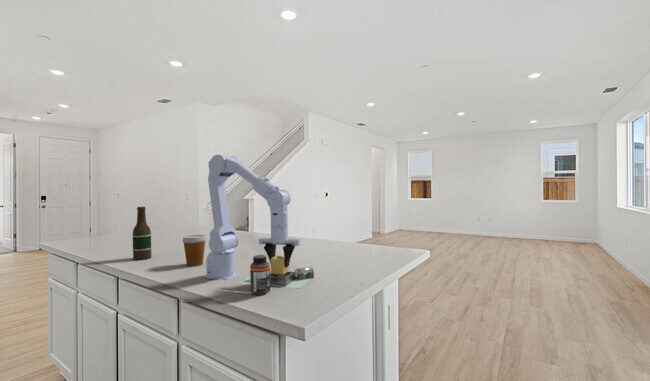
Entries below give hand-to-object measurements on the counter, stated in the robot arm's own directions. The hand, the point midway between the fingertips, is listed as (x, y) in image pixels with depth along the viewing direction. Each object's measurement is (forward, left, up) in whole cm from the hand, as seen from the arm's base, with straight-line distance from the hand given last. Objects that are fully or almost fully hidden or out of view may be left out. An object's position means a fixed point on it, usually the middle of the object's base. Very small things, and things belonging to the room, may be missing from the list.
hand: (279, 266), depth 111 cm
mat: (-2, +3, -6) cm, 7 cm away
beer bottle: (-78, +19, -6) cm, 80 cm away
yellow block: (0, 0, -2) cm, 2 cm away
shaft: (+6, +6, -6) cm, 11 cm away
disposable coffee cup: (-46, +15, -6) cm, 49 cm away
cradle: (0, 0, -6) cm, 6 cm away
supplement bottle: (-2, -11, -6) cm, 12 cm away
